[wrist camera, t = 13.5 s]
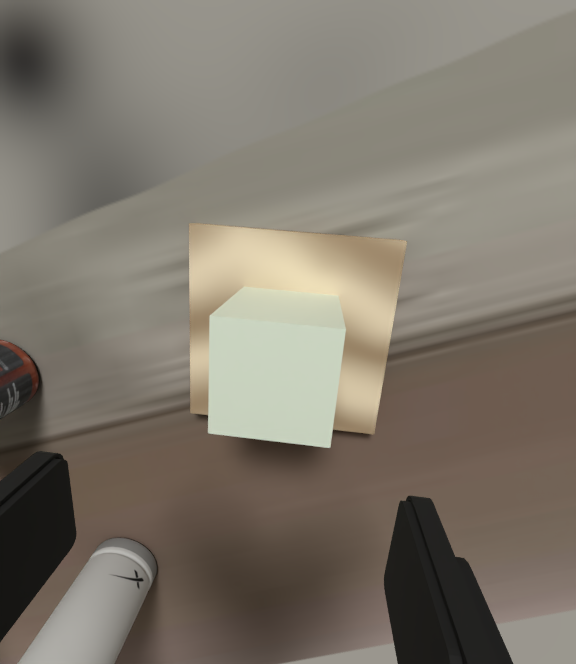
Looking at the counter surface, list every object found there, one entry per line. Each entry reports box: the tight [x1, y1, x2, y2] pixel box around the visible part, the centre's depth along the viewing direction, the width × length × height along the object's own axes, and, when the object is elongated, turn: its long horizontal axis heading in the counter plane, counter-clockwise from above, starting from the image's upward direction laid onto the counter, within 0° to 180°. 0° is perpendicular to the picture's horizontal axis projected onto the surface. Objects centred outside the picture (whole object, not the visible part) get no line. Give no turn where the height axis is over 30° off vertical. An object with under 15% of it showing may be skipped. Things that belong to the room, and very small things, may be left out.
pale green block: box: [208, 287, 346, 448], centre depth 21 cm, size 6×6×8 cm
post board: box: [189, 223, 407, 434], centre depth 23 cm, size 14×14×8 cm
